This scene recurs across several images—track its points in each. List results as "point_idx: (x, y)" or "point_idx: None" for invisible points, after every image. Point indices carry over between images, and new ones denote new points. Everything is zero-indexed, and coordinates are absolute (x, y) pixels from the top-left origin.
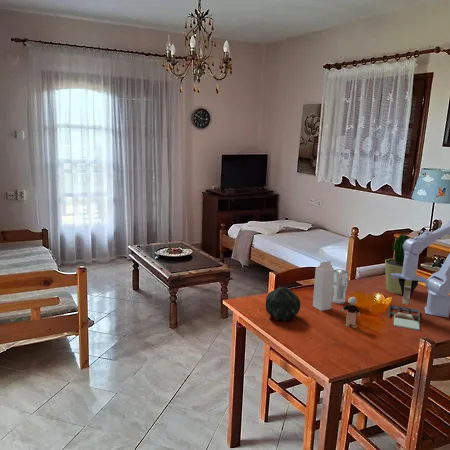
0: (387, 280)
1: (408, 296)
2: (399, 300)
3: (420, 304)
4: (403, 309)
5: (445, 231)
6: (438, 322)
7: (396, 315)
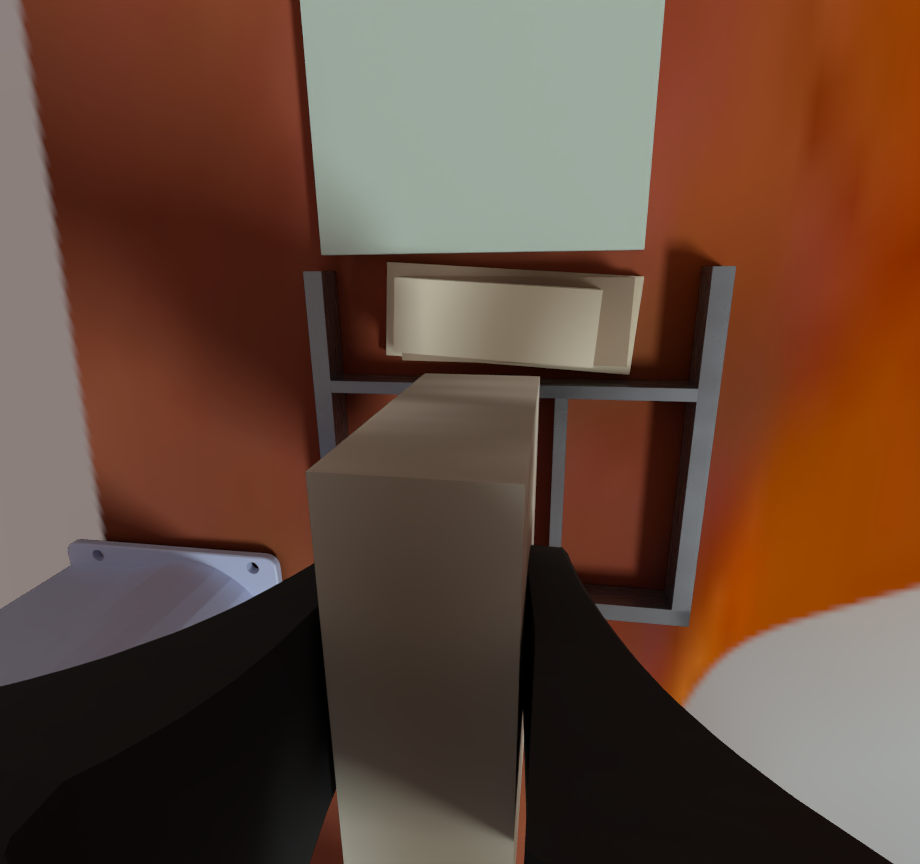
0: None
1: (404, 419)
2: None
3: None
4: None
5: None
6: (140, 375)
7: (611, 288)
